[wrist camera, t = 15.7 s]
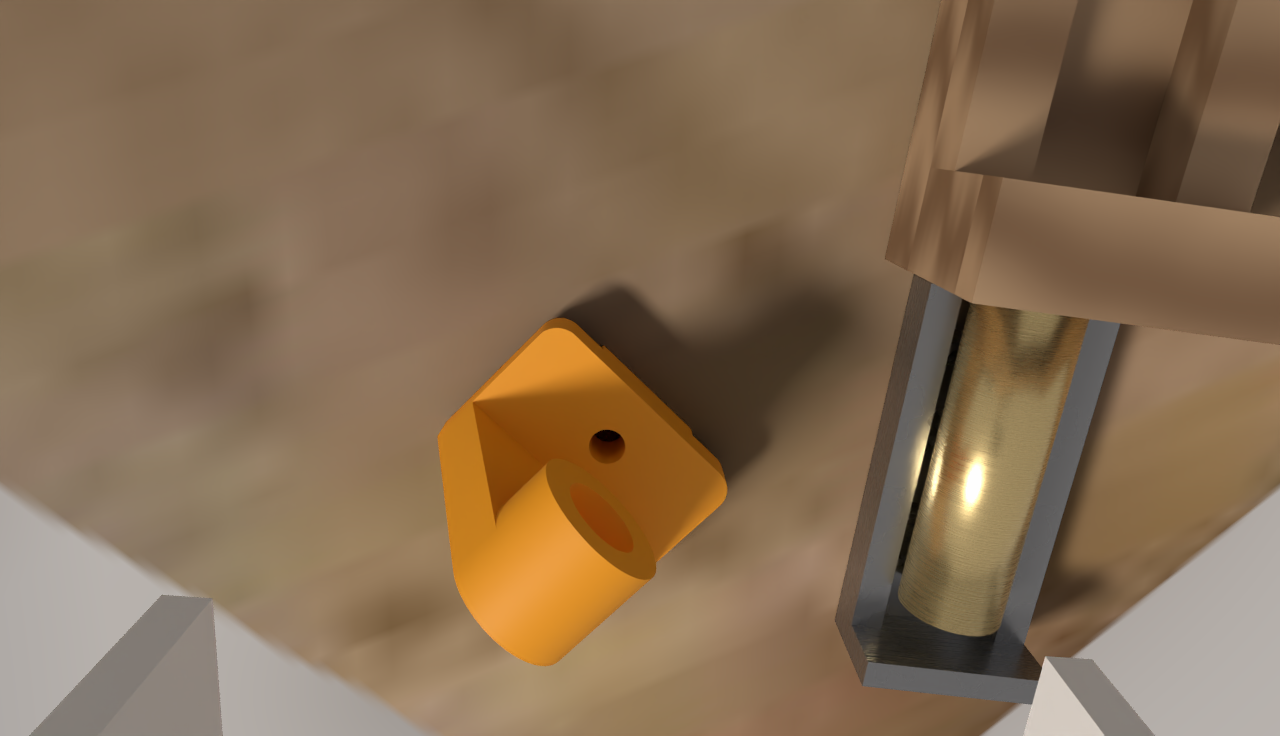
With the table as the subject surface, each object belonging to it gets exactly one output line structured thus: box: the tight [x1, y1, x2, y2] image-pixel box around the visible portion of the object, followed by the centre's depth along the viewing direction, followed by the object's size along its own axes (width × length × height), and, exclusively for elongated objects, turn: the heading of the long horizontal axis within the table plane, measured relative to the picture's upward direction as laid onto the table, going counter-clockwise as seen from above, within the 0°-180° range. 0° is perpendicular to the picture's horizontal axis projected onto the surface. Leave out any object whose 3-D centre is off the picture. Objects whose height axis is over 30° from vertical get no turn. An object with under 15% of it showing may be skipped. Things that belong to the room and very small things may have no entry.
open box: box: [885, 0, 1280, 345], centre depth 30 cm, size 14×11×10 cm
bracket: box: [438, 318, 727, 666], centre depth 33 cm, size 11×7×12 cm, turn 45°
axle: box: [898, 303, 1090, 636], centre depth 36 cm, size 14×4×4 cm, turn 172°
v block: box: [835, 275, 1120, 704], centre depth 37 cm, size 17×8×5 cm, turn 172°
